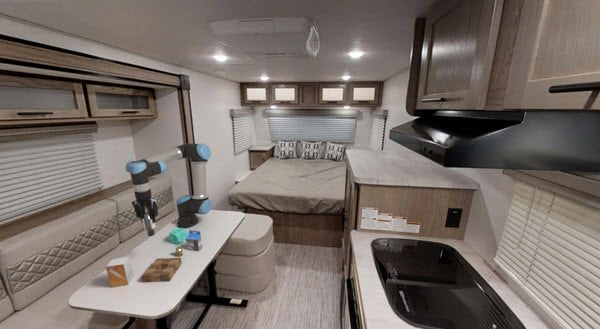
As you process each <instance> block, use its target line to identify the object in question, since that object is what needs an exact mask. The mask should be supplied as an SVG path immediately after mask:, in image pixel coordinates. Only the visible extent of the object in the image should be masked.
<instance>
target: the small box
mask: <svg viewBox="0 0 600 329" xmlns="http://www.w3.org/2000/svg"><path fill="white" fill-rule="evenodd" d="M105 268H106V272H107V276H108V280H109V284H110V288H115V287H122V286H128V285H130V283H131V282H132V281H133V279H134V277H135V274H134V270H133V267H132V262H131V257H130V256H125V257H117V258H112V259H111V260H110V261H109V262H108V263H107V265H106V266H105Z"/></svg>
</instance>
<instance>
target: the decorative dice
mask: <svg viewBox="0 0 600 329" xmlns="http://www.w3.org/2000/svg"><path fill="white" fill-rule="evenodd" d="M186 230H187V229H186V228H179V227H177V228H174V229H172V230H171V231H170V232H169V235H168V239H169V241H170V243H172V244H174V245H178V244H179V245H180V244H182V243H184V242H186V237H187V236H188V232H187V231H186Z"/></svg>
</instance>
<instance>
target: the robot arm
mask: <svg viewBox="0 0 600 329" xmlns="http://www.w3.org/2000/svg"><path fill="white" fill-rule="evenodd" d="M211 155H212V150H211V148H210V146H209V145H207V144H206V143H192V142H191V143H184V144H183V143H182V144H180V145H177V146H174V147H172V148H171V149H169V150H167V151H162V152H161V153H160V152H159V153H157V154H155V155H150V156H149V157H145V158H142V159H139V160H130V161H128V162H126V164H125V167H124V168H125V171H126V172H127V173H129V175H130V180H131V182H132V187H133V191H134V197H135V199H134V200H132V201H131V202H130V203H131V205H132V206H133V209H134V212H135V215H136V216H135V217H136V218H137V219H138V218H140V222H141V224H143V229H144V230H147V229H146V224H145V219H144V213H145V212H146V209H147V212H149V215H150V217H151V218H150V224H151V229H153V228H154V229H155V228H156V223H157V222H156V217H157V216H159V209H158V202H159V200H158V199H153V196H152V190H151V185H150V178H151V177H154V176H157V175H160V174H162V173H165V172H166V171H167V165H166V164H168V163H171V162H173V161H176V160H177V161H179V160H182V159H190V163H192V168H193V169H192V170H193V172H192V175H193V195H192V194H186V195H182V196H180V197H178V198H177V199H176V200H175V201H176V207H177V214H178V218H177V223H176V224H177V228H183V229H188V228H191V227H194V226H196V225H198V223H199V222H200V221H199V218H198V215H207V214H208V213H210V211H211V210H212V207H213V202H212V200H211V199H210V198H209V195H208V194H207V173H206V170H207V167H206V164H208V161H209V159H210V158H211Z"/></svg>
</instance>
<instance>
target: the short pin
mask: <svg viewBox="0 0 600 329" xmlns="http://www.w3.org/2000/svg"><path fill="white" fill-rule="evenodd" d="M175 254H176V258H181V257H182V256H183V255H184V254H183V249H182V246H176V247H175Z"/></svg>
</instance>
